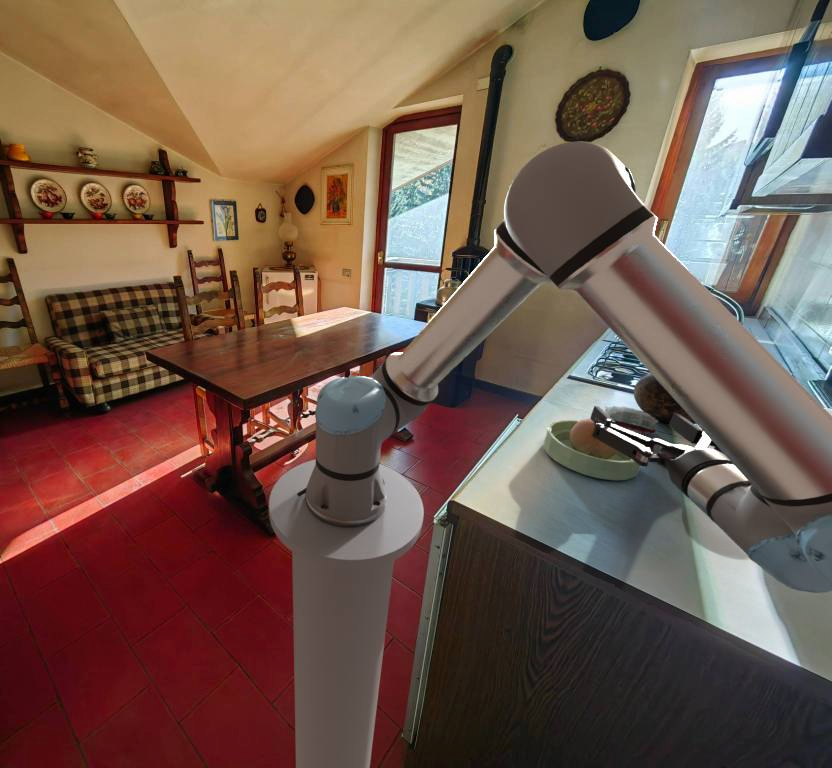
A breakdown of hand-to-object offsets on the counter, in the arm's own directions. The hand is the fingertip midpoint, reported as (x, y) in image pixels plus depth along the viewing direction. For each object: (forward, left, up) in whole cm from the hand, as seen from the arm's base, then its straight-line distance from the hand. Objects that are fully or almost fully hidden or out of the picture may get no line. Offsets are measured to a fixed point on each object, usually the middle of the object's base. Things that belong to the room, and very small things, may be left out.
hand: (633, 415), depth 74 cm
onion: (+3, +9, -15) cm, 18 cm away
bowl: (+3, +9, -16) cm, 18 cm away
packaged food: (+25, +22, -16) cm, 37 cm away
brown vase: (+41, +26, -16) cm, 51 cm away
